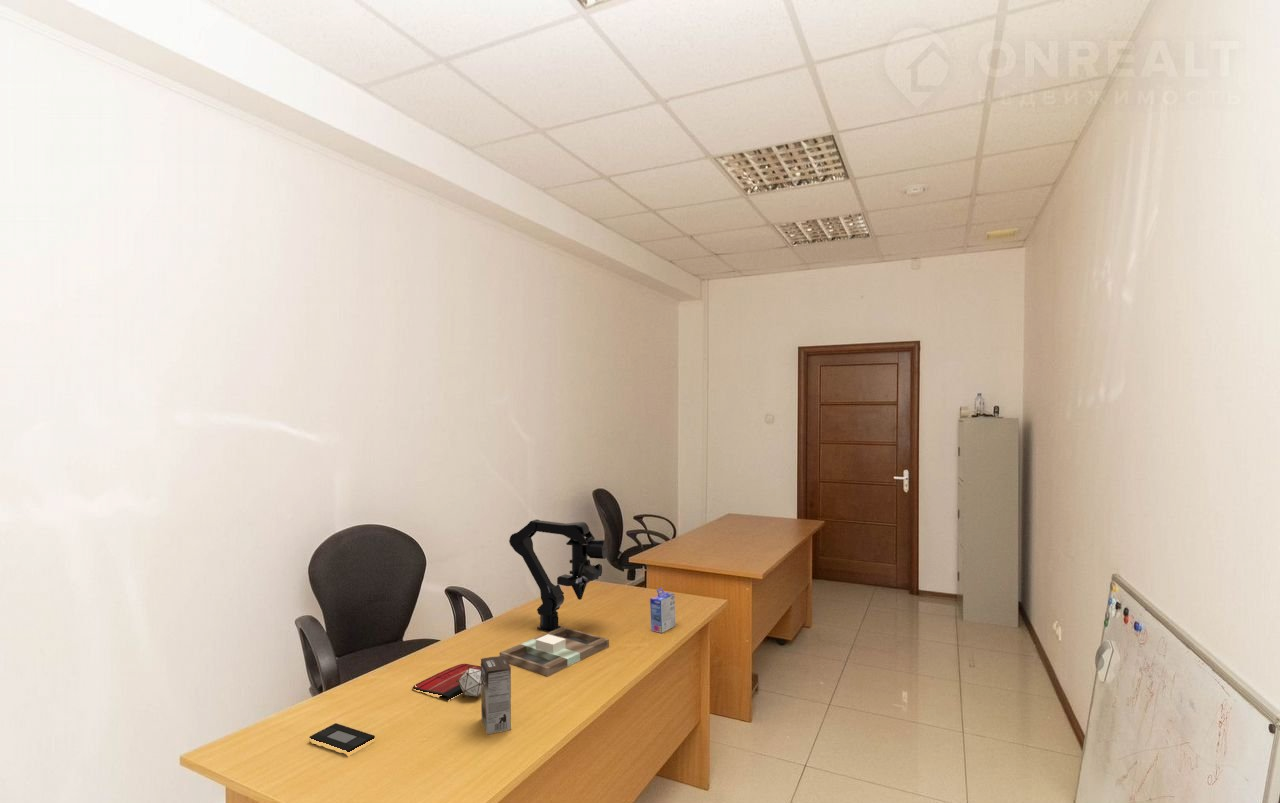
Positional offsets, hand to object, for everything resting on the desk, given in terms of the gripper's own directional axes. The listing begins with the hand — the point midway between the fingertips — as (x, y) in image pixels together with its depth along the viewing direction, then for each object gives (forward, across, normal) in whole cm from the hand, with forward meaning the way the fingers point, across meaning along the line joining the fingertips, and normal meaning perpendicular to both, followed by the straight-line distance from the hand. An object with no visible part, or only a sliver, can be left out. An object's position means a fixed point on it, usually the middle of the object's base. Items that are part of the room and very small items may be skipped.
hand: (579, 599), depth 232 cm
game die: (+12, -57, -10) cm, 59 cm away
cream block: (+10, -23, -7) cm, 26 cm away
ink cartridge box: (+12, +21, -23) cm, 33 cm away
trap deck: (+12, -20, -7) cm, 24 cm away
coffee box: (+12, -64, -28) cm, 71 cm away
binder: (+13, -54, +2) cm, 55 cm away
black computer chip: (+13, -92, -4) cm, 93 cm away
